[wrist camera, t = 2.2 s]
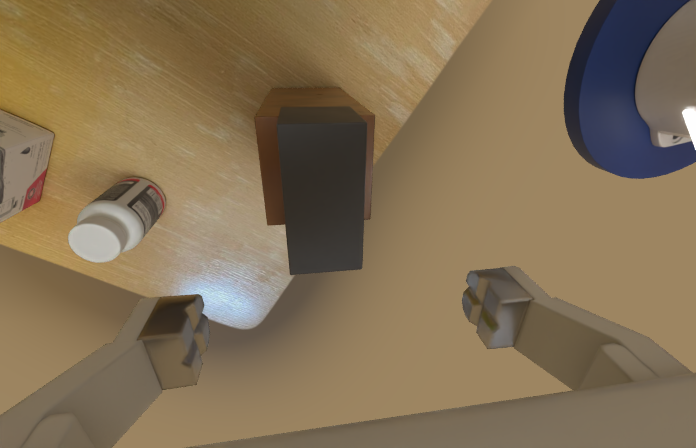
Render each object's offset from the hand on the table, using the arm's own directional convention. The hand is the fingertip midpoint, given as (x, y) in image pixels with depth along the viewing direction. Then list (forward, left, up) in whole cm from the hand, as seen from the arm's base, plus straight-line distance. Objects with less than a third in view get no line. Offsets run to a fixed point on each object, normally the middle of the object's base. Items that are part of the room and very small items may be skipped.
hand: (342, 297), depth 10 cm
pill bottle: (+19, +8, -29) cm, 36 cm away
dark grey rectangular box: (0, 0, -12) cm, 12 cm away
